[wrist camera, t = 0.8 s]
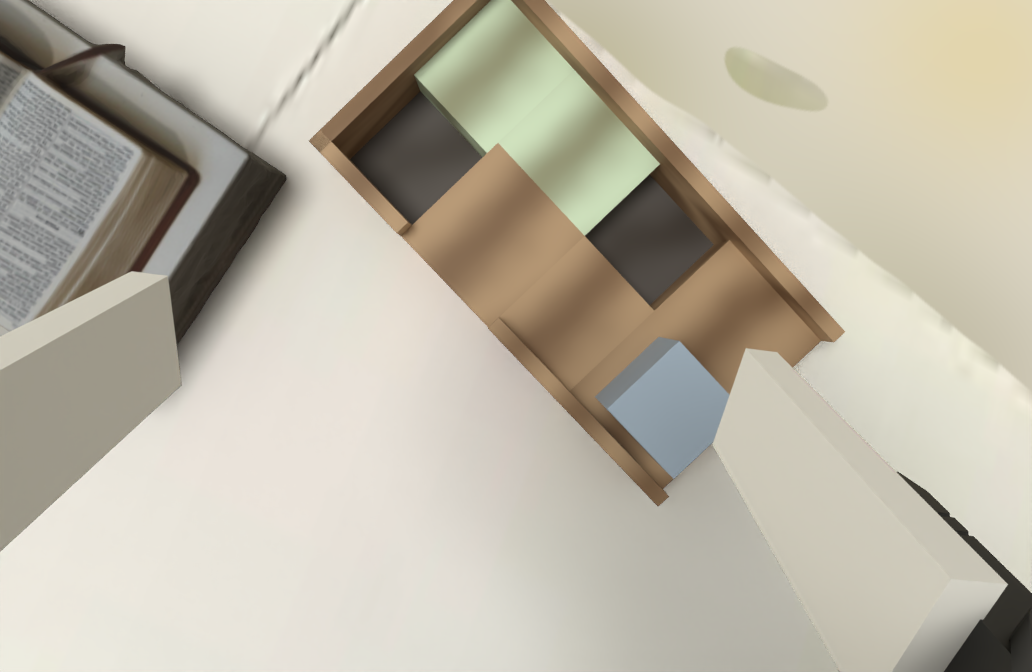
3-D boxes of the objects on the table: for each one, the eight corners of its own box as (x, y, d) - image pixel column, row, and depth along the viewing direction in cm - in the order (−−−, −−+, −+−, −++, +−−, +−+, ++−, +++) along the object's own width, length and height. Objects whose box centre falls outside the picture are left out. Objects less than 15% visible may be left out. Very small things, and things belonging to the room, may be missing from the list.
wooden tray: (807, 329, 41) (845, 331, 37) (641, 485, 42) (658, 506, 37) (502, -7, 39) (502, -47, 35) (330, 159, 40) (308, 140, 35)
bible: (49, -65, 39) (-105, -191, 29) (327, 211, 40) (271, 181, 31) (-178, 171, 39) (-405, 127, 30) (106, 436, 41) (-20, 477, 31)
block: (717, 399, 38) (745, 411, 34) (653, 458, 38) (673, 478, 34) (658, 336, 38) (679, 340, 33) (594, 396, 38) (607, 408, 34)
